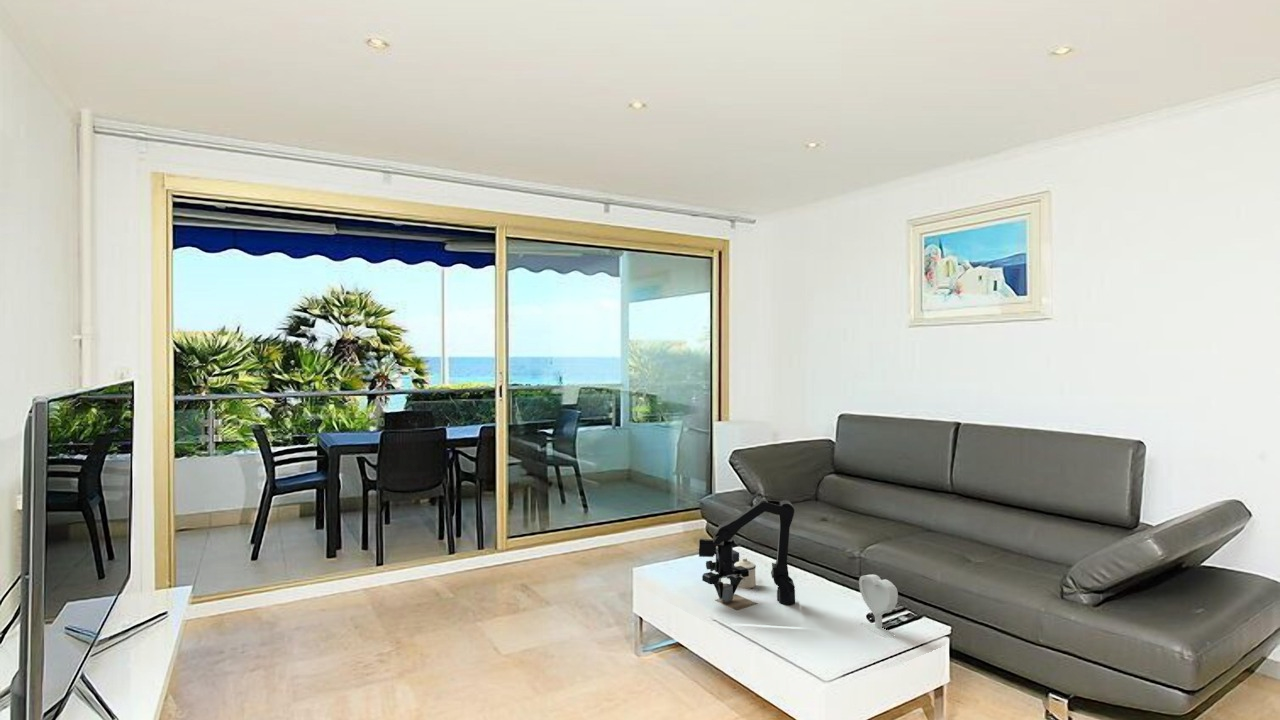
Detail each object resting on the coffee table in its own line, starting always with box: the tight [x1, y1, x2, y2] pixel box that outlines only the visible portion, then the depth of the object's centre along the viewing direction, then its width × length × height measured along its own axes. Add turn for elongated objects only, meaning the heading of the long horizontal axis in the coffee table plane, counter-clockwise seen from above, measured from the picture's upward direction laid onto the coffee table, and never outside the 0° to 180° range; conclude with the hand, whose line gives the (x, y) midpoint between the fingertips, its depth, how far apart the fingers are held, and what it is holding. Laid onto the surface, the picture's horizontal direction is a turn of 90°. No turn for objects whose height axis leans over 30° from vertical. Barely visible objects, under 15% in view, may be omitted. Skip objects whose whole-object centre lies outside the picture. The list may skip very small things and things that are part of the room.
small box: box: [715, 548, 740, 579], centre depth 300 cm, size 11×6×10 cm, turn 25°
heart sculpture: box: [858, 574, 899, 638], centre depth 238 cm, size 16×5×18 cm, turn 21°
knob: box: [718, 582, 733, 601], centre depth 266 cm, size 5×5×5 cm
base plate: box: [714, 593, 759, 611], centre depth 265 cm, size 13×11×4 cm
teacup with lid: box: [734, 557, 757, 589], centre depth 284 cm, size 12×9×12 cm
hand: (726, 596), depth 266 cm, fingers closed on knob, 5 cm apart
